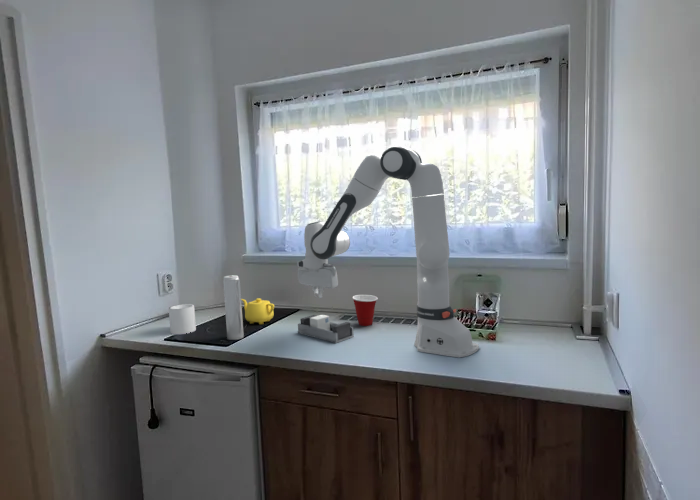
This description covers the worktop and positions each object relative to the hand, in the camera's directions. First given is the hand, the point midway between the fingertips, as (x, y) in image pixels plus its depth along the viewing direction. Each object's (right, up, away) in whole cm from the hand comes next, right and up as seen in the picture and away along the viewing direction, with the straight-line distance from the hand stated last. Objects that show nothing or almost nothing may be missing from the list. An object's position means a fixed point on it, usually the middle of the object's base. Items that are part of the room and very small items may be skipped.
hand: (318, 297), depth 174 cm
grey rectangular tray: (+3, -15, -1) cm, 15 cm away
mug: (-60, -16, +15) cm, 64 cm away
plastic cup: (+19, -13, +12) cm, 27 cm away
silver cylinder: (-33, -17, +1) cm, 37 cm away
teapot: (-29, -14, +24) cm, 40 cm away
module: (+1, -14, +1) cm, 14 cm away
